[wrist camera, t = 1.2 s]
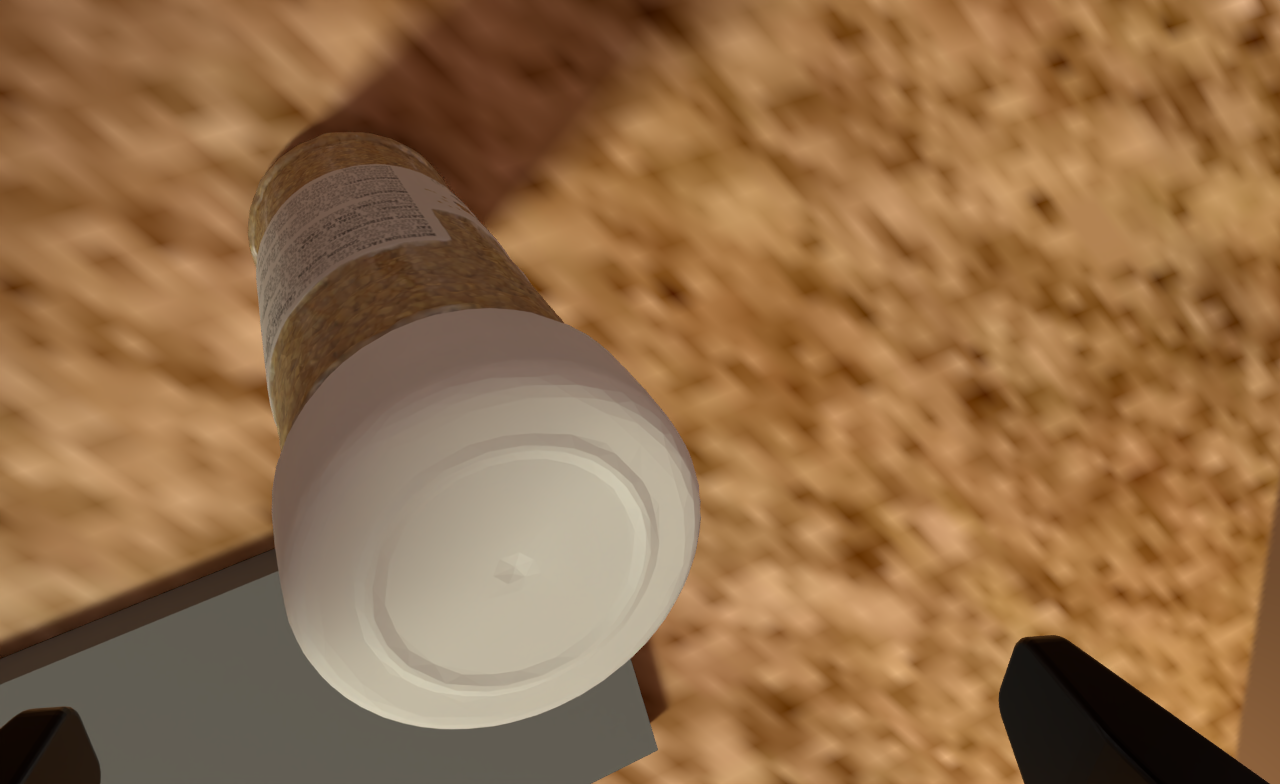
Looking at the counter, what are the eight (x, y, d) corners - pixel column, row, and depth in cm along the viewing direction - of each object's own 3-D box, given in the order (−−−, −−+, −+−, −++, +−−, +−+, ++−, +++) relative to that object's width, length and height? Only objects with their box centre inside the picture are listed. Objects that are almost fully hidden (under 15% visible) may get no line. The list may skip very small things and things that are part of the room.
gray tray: (154, 971, 27) (152, 1003, 27) (-92, 696, 21) (-104, 727, 20) (646, 728, 31) (658, 750, 30) (556, 434, 25) (568, 452, 24)
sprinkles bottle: (483, 279, 22) (750, 626, 11) (300, 355, 22) (395, 814, 10) (410, 92, 20) (658, 297, 9) (201, 169, 19) (187, 505, 8)
